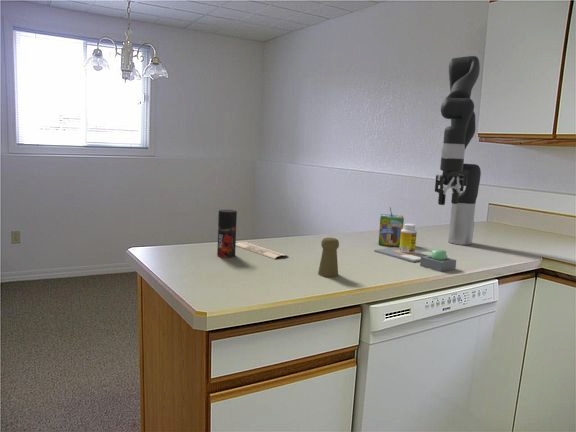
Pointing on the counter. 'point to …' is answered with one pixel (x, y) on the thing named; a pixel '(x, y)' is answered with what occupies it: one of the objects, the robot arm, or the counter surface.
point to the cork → (329, 258)
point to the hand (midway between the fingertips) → (448, 204)
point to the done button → (439, 255)
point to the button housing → (438, 263)
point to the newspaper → (259, 250)
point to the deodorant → (227, 233)
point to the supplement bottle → (408, 239)
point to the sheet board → (405, 254)
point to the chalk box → (390, 229)
